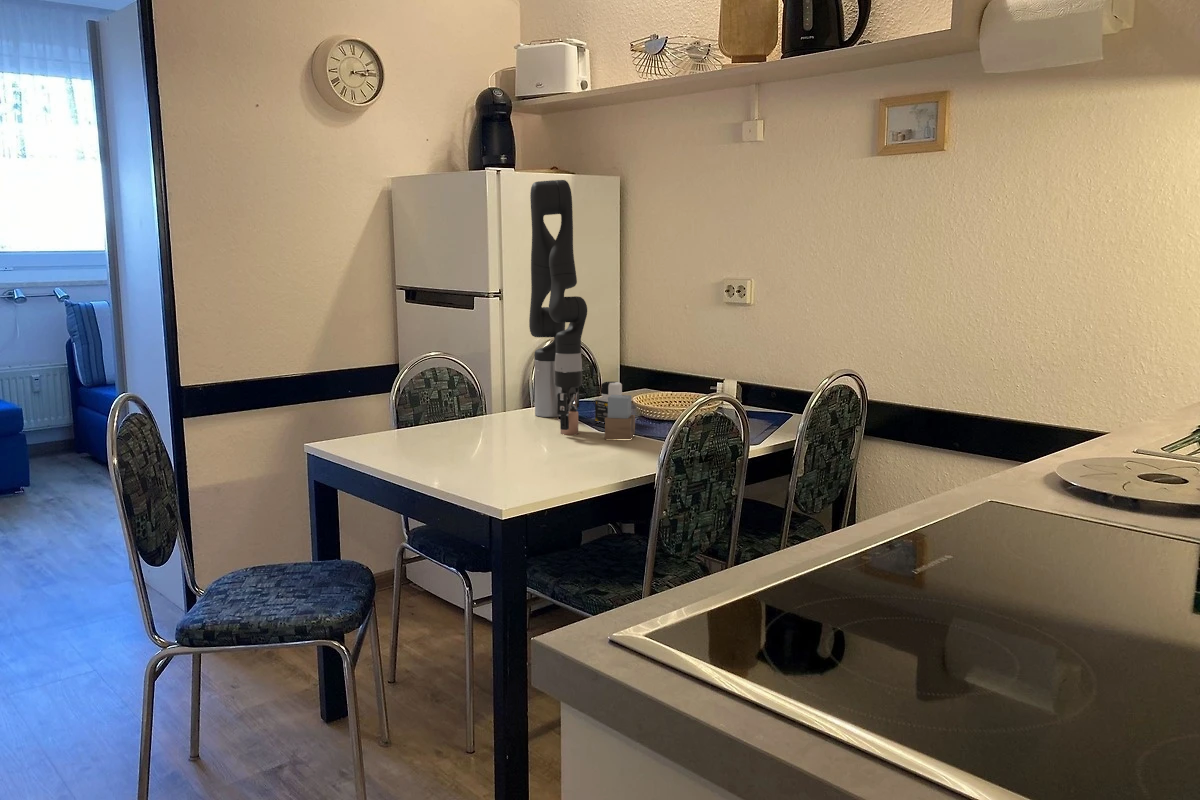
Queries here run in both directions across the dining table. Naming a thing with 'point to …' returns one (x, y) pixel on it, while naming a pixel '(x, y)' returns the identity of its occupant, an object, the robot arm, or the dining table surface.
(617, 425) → the walnut block
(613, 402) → the grey block
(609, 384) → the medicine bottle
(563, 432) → the terracotta cylinder
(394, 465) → the dining table surface
